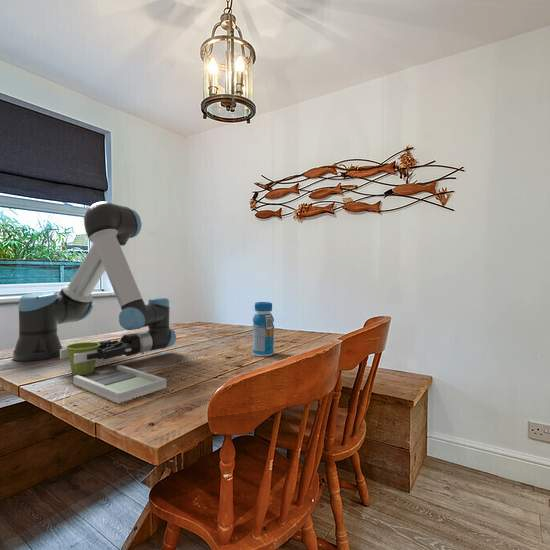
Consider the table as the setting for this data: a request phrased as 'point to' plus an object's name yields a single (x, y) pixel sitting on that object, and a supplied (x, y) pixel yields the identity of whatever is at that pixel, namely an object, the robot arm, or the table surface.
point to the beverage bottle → (263, 329)
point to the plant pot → (82, 367)
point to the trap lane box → (121, 384)
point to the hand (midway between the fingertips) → (67, 356)
